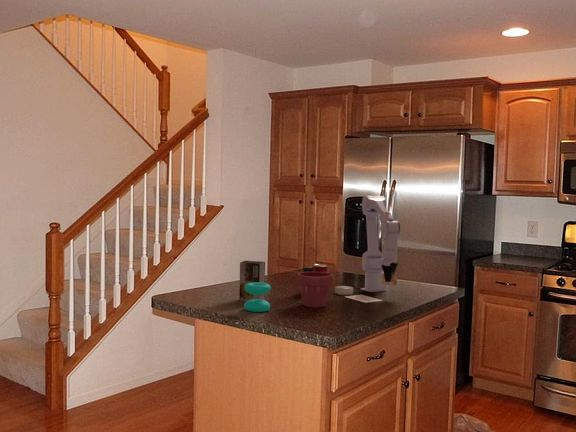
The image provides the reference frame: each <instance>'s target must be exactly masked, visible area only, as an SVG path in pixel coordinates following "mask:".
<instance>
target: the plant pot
mask: <svg viewBox="0 0 576 432" xmlns="http://www.w3.org/2000/svg"><path fill="white" fill-rule="evenodd" d="M333 277H334V276H333V274H332V273H330V272H328V273H327V272H303V271H302V272H298V273H297V283H298V284H299V291H300V290H301V294H300V296H301V300H302V305H303V306H304V307H307V308H308V307H309V308H324V307H326V306H327V301H328V296H329V292H330V288H331V285H332V284H333Z"/></svg>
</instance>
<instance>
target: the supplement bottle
mask: <svg viewBox="0 0 576 432" xmlns="http://www.w3.org/2000/svg"><path fill="white" fill-rule="evenodd" d="M302 272H314V267H312V266H302ZM299 295H301V290H300V289H299Z"/></svg>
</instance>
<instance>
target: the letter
mask: <svg viewBox="0 0 576 432" xmlns="http://www.w3.org/2000/svg"><path fill="white" fill-rule="evenodd" d="M344 298H348V299H351V300H355V301H357V302H358V301H359V302H361V303H366V304H367V303H373V302H380V301H381V302H383V300H382V299H378V298H376V297H372V296H368V295H364V294H357V295H354V294H353V295H344Z"/></svg>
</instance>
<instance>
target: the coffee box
mask: <svg viewBox="0 0 576 432" xmlns="http://www.w3.org/2000/svg"><path fill="white" fill-rule="evenodd" d="M265 281H266V261H259V260H258V261H257V260H242V261H241V262H239V297H238V299H239V300H240V301H239V300H238V301H239V302H247V301H249V300H254V299H260V300H265V294H262V295H254V294H250V293H247V292H246V291H245V285H246V284H248V283H255V282H259V283H266V282H265Z"/></svg>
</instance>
